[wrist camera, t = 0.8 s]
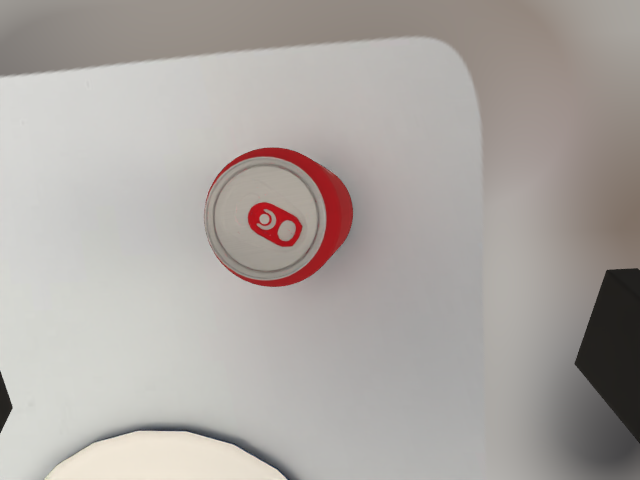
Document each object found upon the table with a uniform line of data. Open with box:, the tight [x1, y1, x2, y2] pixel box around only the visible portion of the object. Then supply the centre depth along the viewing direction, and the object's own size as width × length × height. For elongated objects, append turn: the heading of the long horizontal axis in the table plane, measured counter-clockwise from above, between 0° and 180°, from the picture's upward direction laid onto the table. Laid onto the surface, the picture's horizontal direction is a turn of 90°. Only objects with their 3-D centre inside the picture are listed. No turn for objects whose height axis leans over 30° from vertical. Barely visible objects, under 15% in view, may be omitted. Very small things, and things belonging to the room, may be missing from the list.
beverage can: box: [204, 148, 353, 287], centre depth 28 cm, size 6×6×12 cm
